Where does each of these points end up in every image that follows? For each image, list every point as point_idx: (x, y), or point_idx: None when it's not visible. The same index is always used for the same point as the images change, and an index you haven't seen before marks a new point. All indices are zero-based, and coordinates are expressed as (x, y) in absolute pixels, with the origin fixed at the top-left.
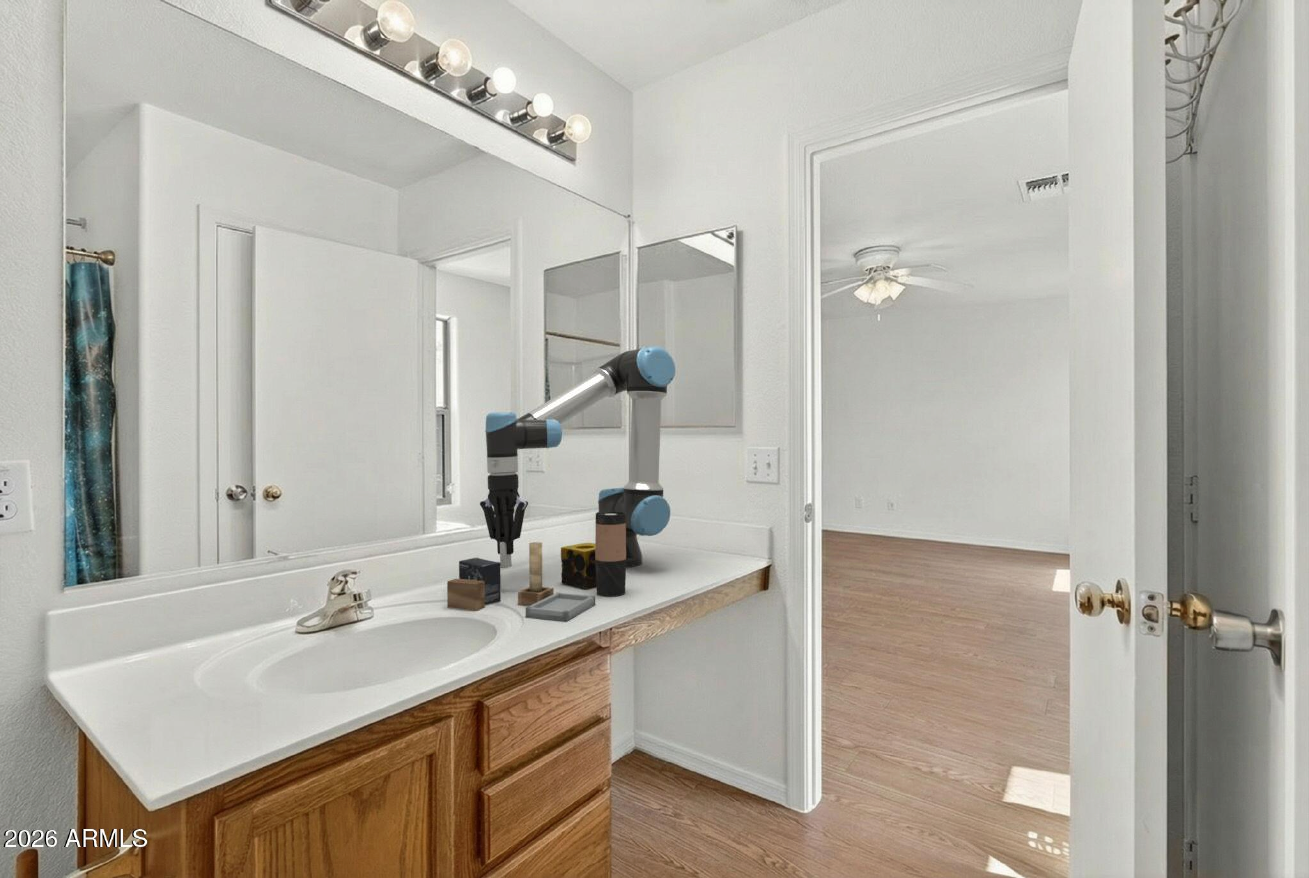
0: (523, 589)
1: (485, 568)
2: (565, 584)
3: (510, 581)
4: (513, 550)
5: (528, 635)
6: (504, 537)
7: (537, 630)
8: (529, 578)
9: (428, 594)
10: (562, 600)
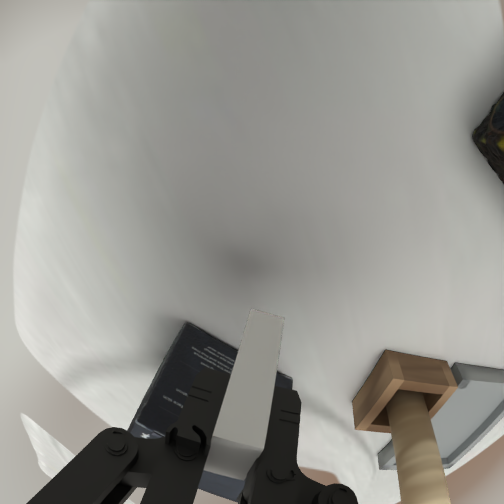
0: (369, 411)
1: None
2: (486, 157)
3: (224, 93)
4: (300, 410)
5: (383, 492)
6: (203, 466)
7: (396, 482)
8: (393, 445)
9: (58, 305)
10: (464, 395)
